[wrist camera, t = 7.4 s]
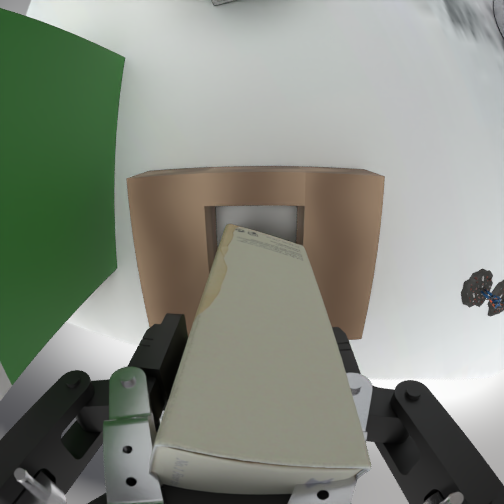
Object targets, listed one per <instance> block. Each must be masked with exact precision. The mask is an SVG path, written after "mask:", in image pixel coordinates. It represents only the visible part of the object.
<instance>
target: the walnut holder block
mask: <svg viewBox="0 0 504 504" xmlns="http://www.w3.org/2000/svg"><path fill="white" fill-rule="evenodd" d="M384 178H385V177H384V176H382V175H379V174H376V173H373V172H370V171H367V170H364V169H349V168H329V167H299V166H234V167H204V168H184V169H169V170H155V171H147V172H144V173H141V174H138V175H135V176H132V177H129V178H127V189H128V199H129V208H130V217H131V225H132V232H133V240H134V246H135V253H136V259H137V265H138V271H139V277H140V282H141V288H142V293H143V298H144V303H145V308H146V313H147V317H148V322H149V326H150V327H151V326H153V325H154V324H161V323H162V321H163V319H164V317H165V315H166V314H167V313H173V314H184V316H185V320H186V327H187V333H188V337H189V334H190V331H191V328H192V325H193V322H194V319H195V316H196V313H197V310H198V307H199V304H200V301H201V298H202V295H203V292H204V289H205V286H206V283H207V280H208V277H209V274H210V271H211V268H212V265H213V262H214V259H215V256H216V252H217V231H216V211H215V206H244V205H287V206H297V233H296V244H299V245H302V246H303V247H304V248H305V250H306V253H307V256H308V259H309V261H310V264H311V267H312V270H313V273H314V276H315V279H316V282H317V284H318V287H319V290H320V293H321V296H322V299H323V302H324V305H325V308H326V311H327V314H328V318H329V321H330V323H331V326H332V327H339V328H340V329H341V330H342V331H344V332H345V333H346V335H347V338H348V340H353V339H361V338H362V333H363V329H364V324H365V319H366V315H367V310H368V304H369V299H370V294H371V288H372V282H373V276H374V270H375V263H376V257H377V249H378V242H379V234H380V225H381V215H382V205H383V193H384Z"/></svg>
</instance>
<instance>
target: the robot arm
mask: <svg viewBox="0 0 504 504" xmlns="http://www.w3.org/2000/svg"><path fill="white" fill-rule="evenodd" d="M494 13H495V18H496V21H497V24H498V26H499V29H500V31H501V33H502V35H503V37H504V0H494ZM332 329H333V333H334V336H335V339H336V342H337V345H338V348H339V352H340V355H341V358H342V361H343V365H344V368H345V371H346V374H347V378H348V382H349V385H350V389H351V392H352V396H353V399H354V403H355V406H356V409H357V413H358V417H359V420H360V423H361V427H362V431H363V434H364V438H365V442H366V441H371V442H375V444H376V446H377V448H378V449H379V451H380V453H381V455H382V456H383V458H384V460H385V462H386V463H387V465H388V467H389V468H390V470H391V472H392V474H393V476H394V477H395V479H396V481H397V483H398V484H399V486H400V488H401V490H402V491H403V493H404V495H405V497H406V498H407V500H408V502H409V504H504V486H503V484H502V483H501V481H500V480H499V479H498V477H497V476H496V475H495V473H494V472H493V470H492V469H491V468H490V466H489V465H488V464H487V463H486V461H485V460H484V458H483V457H482V456H481V454H480V453H479V452H478V451H477V449H476V448H475V447H474V445H473V444H472V443H471V441H470V440H469V439H468V438H467V436H466V435H465V434H464V432H463V431H462V430H461V429H460V427H459V426H458V425H457V424H456V422H455V421H454V420H453V419H452V417H451V416H450V415H449V414H448V413H447V411H446V410H445V409H444V408H443V406H442V405H441V404H440V403H439V402H438V400H437V399H436V398H435V397H434V395H433V394H432V393H431V392H430V390H429V389H428V388H427V387H426V386H425V385H424V384H422V383H420V382H418V381H413V380H407V381H404V382H401V383H399V384H398V385H397V386H396V388H395V390H392V389H384V388H378V387H374V386H372V384H371V382H370V380H369V379H368V378H366V377H365V376H363V375H361V373H360V371H359V368H358V365H357V362H356V359H355V357H354V354H353V351H352V348H351V346H350V344H349V340H348V338H347V335H346V333H345V332H344V331H342V330H341V329H340V328H339V327H332ZM187 340H188V333H187V327H186V320H185V316H184V314H173V313H167V314H166V315H165V317H164V319H163V321H162V323H161V324H154V325H153V326H151V327H150V328H149V329H148V330H147V331H146V333H145V334H144V336H143V340H141V342H140V344H139V346H138V347H137V350H136V351H135V353H134V355H133V357H132V359H131V361H130V363H129V365H128V367H124V368H121V369H118V370H117V371H115V372H114V373H113V374H112V376H111V377H110V379H109V380H99V381H91V380H90V377H89V375H88V374H87V373H85V372H83V371H79V370H75V371H70V372H68V373H66V374H65V375H63V376H62V377H61V378H60V379H59V380H58V381H57V382H56V383H55V384H54V385H53V386H52V387H51V388H50V389H49V390H48V391H47V392H46V393H45V394H44V395H43V396H42V397H41V398H40V399H39V400H38V401H37V402H36V403H35V404H34V405H33V406H32V407H31V408H30V409H29V410H28V411H27V412H26V413H25V415H23V416H22V418H21V419H20V420H19V421H18V422H17V423H16V424H15V425H14V426H13V427H12V428H11V429H10V430H9V431H8V432H7V433H6V435H5V436H4V437H3V438H2V439H1V440H0V504H67V502H66V496H65V494H66V493H67V492H68V490H69V489H70V488H71V486H72V485H73V483H74V482H75V481H76V479H77V478H78V476H79V475H80V474H81V472H82V471H83V470H84V468H85V467H86V466H87V464H88V463H89V462H90V460H91V459H92V457H93V456H94V455H95V453H96V452H97V451H98V449H99V448H100V446H101V445H102V444H103V451H104V471H105V484H106V493H105V494H103V495H102V496H100V497H98V498H96V499H95V500H93V501H91V502H90V503H88V504H351V500H352V497H353V493H354V490H355V486H356V482H357V479H358V475H354V476H352V477H350V478H347V479H343V480H337V481H329V482H327V483H322V482H320V483H310V484H296V486H295V488H294V490H293V493H292V494H228V493H215V492H206V491H198V490H191V489H185V488H180V487H175V486H170V485H166V484H163V482H162V481H161V479H160V477H159V475H158V474H157V473H156V472H150V473H148V470H149V463H150V458H151V454H152V450H153V446H154V442H155V438H156V435H157V432H158V429H159V426H160V423H161V419H160V417H161V414H162V411H163V410H164V411H165V408H166V405H167V402H168V399H169V396H170V393H171V390H172V387H173V384H174V381H175V378H176V374H177V371H178V368H179V365H180V362H181V359H182V356H183V353H184V350H185V347H186V343H187ZM74 418H76V419H77V420H76V422H75V423H74V424H73V425H72V426H71V427H70V429H69V430H68V431H67V432H66V433H65V435H64V436H63V437H62V438H61V434H62V432H63V431H64V430H65V428H66V427H67V426H68V425H69V424H70V422H71V421H72V420H73V419H74Z"/></svg>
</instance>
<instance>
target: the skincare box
mask: <svg viewBox="0 0 504 504" xmlns="http://www.w3.org/2000/svg"><path fill="white" fill-rule="evenodd" d="M370 469H371V462H370V459H369V455H368V450H367V446H366V442H365V438H364V434H363V431H362V427H361V423H360V420H359V417H358V413H357V409H356V406H355V403H354V399H353V396H352V392H351V389H350V385H349V382H348V378H347V374H346V371H345V368H344V365H343V361H342V358H341V355H340V352H339V348H338V345H337V342H336V339H335V336H334V333H333V329H332V326H331V323H330V321H329V318H328V314H327V311H326V308H325V305H324V302H323V299H322V296H321V293H320V290H319V287H318V284H317V282H316V279H315V276H314V273H313V270H312V267H311V264H310V261H309V259H308V256H307V253H306V250H305V248H304V247H303V246H302V245H299V244H296V243H293V242H290V241H287V240H284V239H281V238H278V237H274V236H271V235H268V234H265V233H261V232H258V231H255V230H251V229H248V228H244V227H240V226H236V225H232V224H227V225H226V227H225V229H224V232H223V235H222V238H221V241H220V244H219V247H218V249H217V252H216V256H215V259H214V262H213V265H212V268H211V271H210V274H209V277H208V280H207V283H206V286H205V289H204V292H203V295H202V298H201V301H200V304H199V307H198V310H197V313H196V316H195V319H194V322H193V325H192V328H191V331H190V334H189V337H188V340H187V343H186V347H185V350H184V353H183V356H182V359H181V362H180V365H179V368H178V371H177V374H176V378H175V381H174V384H173V387H172V390H171V393H170V396H169V399H168V402H167V405H166V408H165V412H164V414H163V417H162V420H161V423H160V426H159V429H158V432H157V435H156V438H155V442H154V446H153V450H152V454H151V458H150V463H149V470H148V473H150V472H156V473H157V474H158V475H159V477H160V479H161V481H162V482H163V484H166V485H170V486H175V487H180V488H185V489H191V490H198V491H206V492H215V493H228V494H292V493H293V490H294V488H295V486H296V484H310V483H320V482H322V483H327V482H329V481H337V480H343V479H347V478H350V477H352V476H354V475H358V478H359V477H361V476H362V475H363V474H365V473H366V472H368V471H369V470H370Z"/></svg>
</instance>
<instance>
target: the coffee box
mask: <svg viewBox="0 0 504 504" xmlns="http://www.w3.org/2000/svg"><path fill="white" fill-rule="evenodd" d="M231 1H235V0H212V3H213V4H214V5H219V4H222V3H226V2H231Z"/></svg>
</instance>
